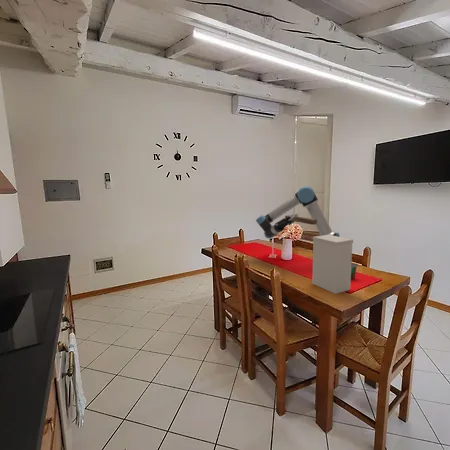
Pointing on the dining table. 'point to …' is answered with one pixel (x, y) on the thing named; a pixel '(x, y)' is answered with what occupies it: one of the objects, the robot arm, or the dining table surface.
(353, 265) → the food container
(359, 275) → the dining table surface
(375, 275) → the dining table surface
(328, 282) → the beige lidded bin
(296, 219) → the walnut bar
